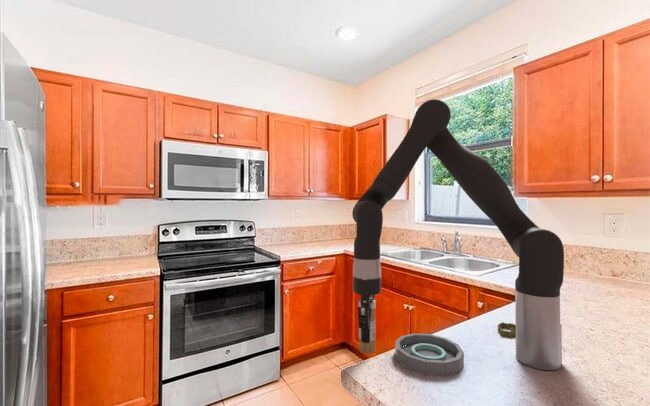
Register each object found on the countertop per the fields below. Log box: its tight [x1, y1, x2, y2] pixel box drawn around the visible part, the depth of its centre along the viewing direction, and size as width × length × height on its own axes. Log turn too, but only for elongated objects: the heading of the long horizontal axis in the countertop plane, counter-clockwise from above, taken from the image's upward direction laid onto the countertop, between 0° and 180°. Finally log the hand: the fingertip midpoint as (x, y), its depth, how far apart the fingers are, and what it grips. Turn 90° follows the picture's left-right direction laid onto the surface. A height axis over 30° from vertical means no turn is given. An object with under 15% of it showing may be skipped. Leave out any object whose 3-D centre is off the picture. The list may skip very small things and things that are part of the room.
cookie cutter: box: [497, 321, 516, 338], centre depth 95 cm, size 18×12×2 cm, turn 123°
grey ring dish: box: [394, 333, 465, 377], centre depth 78 cm, size 16×16×3 cm
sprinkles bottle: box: [358, 298, 377, 354], centre depth 83 cm, size 5×5×14 cm
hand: (367, 338), depth 83 cm, fingers closed on sprinkles bottle, 4 cm apart
